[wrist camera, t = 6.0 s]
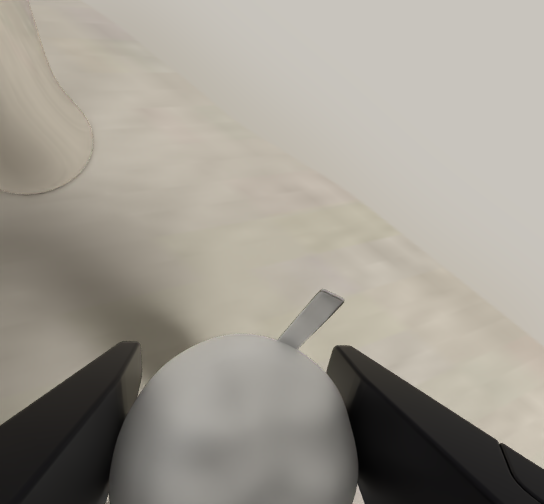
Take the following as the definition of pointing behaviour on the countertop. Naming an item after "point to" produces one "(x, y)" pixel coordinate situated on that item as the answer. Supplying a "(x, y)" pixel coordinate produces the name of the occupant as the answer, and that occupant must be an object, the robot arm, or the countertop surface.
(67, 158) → the beer glass
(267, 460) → the milkshake
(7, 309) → the countertop surface
